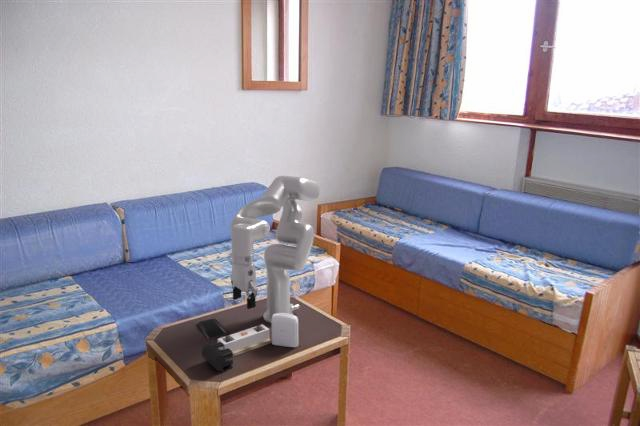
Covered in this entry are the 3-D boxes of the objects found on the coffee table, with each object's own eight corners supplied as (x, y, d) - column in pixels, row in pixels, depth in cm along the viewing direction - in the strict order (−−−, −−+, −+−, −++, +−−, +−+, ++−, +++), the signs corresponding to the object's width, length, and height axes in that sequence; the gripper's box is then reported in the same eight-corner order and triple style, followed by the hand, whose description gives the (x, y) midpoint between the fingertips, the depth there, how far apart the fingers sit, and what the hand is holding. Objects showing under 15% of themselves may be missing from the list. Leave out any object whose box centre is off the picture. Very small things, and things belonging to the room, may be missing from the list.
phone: (215, 318, 206) (228, 333, 193) (215, 320, 206) (228, 336, 193) (196, 322, 202) (208, 338, 189) (196, 324, 202) (208, 340, 189)
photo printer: (269, 345, 186) (269, 314, 183) (273, 339, 190) (273, 309, 187) (296, 349, 184) (296, 318, 181) (299, 343, 188) (300, 313, 185)
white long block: (262, 333, 192) (262, 323, 191) (269, 338, 189) (269, 327, 188) (217, 349, 180) (217, 337, 179) (224, 354, 177) (224, 343, 176)
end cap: (201, 362, 174) (200, 345, 172) (219, 356, 178) (219, 339, 177) (215, 375, 166) (214, 357, 165) (233, 368, 171) (233, 350, 169)
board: (260, 335, 193) (260, 321, 192) (271, 342, 188) (271, 327, 187) (216, 351, 181) (216, 335, 180) (226, 359, 176) (225, 343, 175)
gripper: (265, 263, 172) (266, 308, 177) (239, 249, 185) (240, 292, 190) (246, 268, 168) (247, 314, 172) (221, 254, 181) (223, 297, 185)
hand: (244, 303), depth 181 cm, fingers open, 9 cm apart
